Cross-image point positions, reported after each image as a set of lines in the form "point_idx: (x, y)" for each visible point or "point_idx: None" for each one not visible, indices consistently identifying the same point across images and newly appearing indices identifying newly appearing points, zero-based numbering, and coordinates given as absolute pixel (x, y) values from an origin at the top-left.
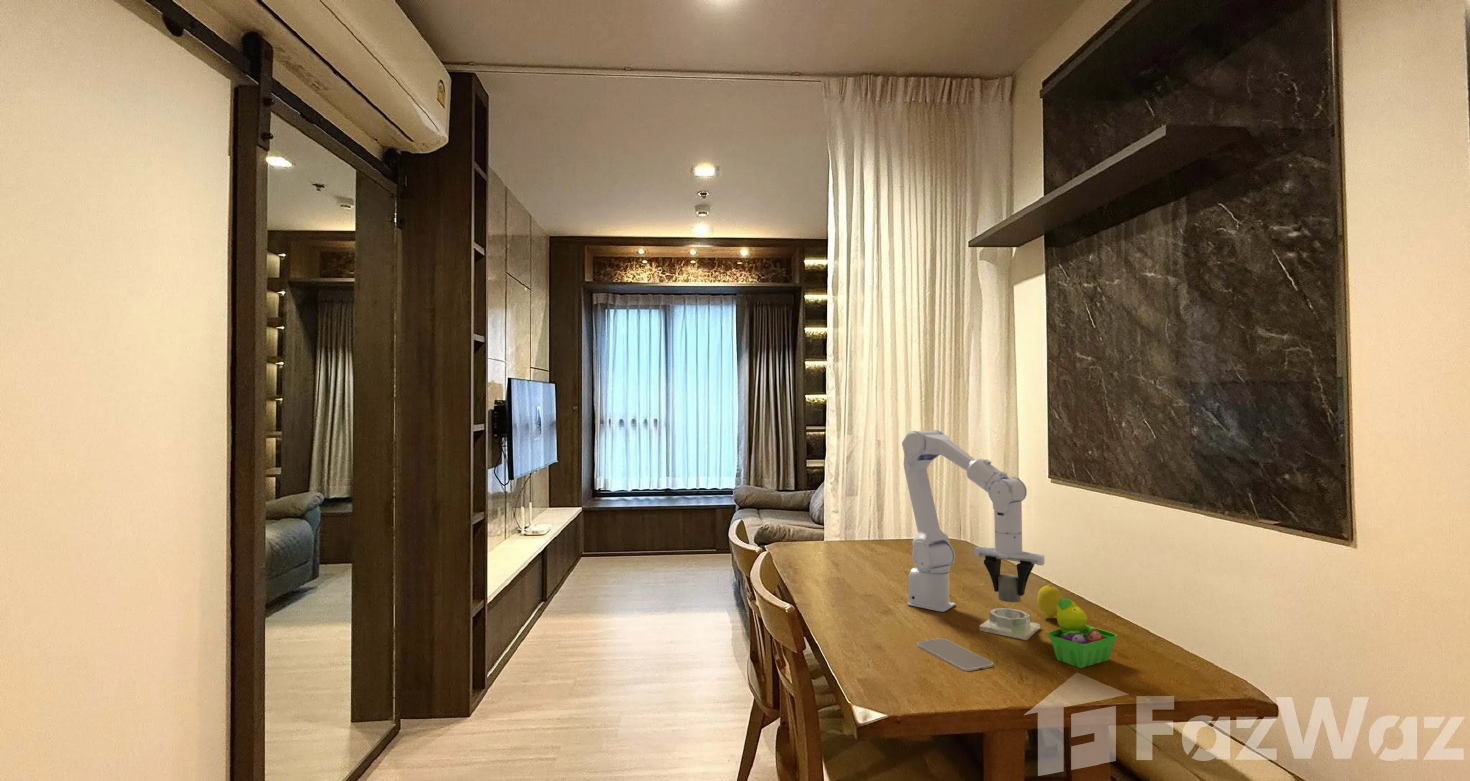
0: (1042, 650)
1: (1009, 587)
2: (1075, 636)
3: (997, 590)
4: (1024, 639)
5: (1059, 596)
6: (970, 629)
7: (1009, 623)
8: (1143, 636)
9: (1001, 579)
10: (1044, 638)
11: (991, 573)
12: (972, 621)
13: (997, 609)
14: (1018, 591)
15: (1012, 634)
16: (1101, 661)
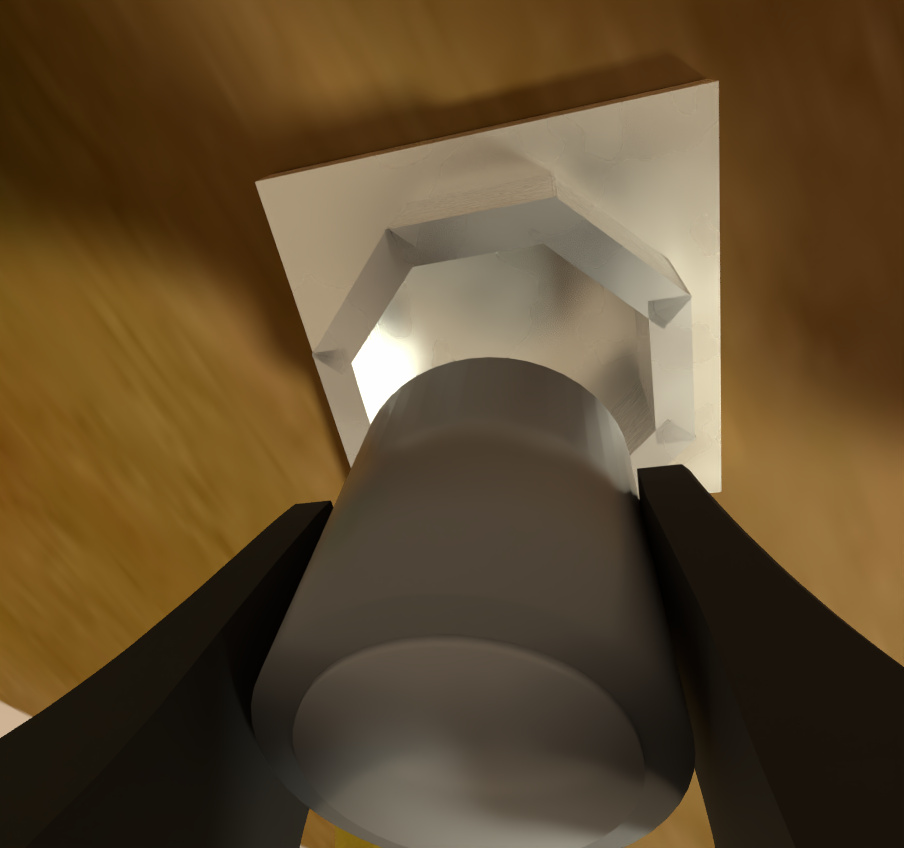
0: (42, 22)
1: (379, 490)
2: None
3: (640, 482)
4: (289, 171)
5: (335, 836)
6: (800, 22)
7: (420, 214)
8: (23, 700)
9: (527, 573)
10: (232, 331)
11: (841, 674)
12: (860, 287)
13: (653, 432)
14: (300, 524)
15: (382, 153)
16: None
